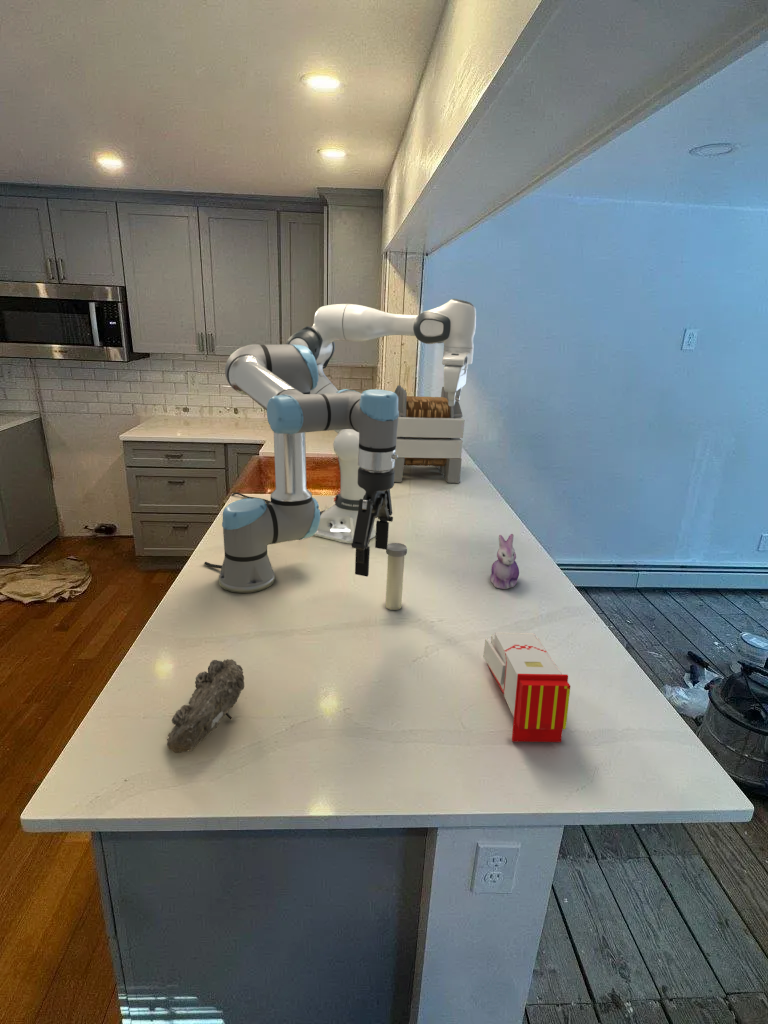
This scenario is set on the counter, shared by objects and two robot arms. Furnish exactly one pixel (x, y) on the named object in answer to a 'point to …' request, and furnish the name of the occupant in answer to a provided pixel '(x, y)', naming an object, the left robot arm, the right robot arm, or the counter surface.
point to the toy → (529, 686)
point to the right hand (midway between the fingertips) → (454, 403)
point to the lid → (396, 550)
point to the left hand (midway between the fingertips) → (371, 560)
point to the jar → (394, 582)
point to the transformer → (429, 434)
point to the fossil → (206, 705)
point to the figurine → (505, 565)
